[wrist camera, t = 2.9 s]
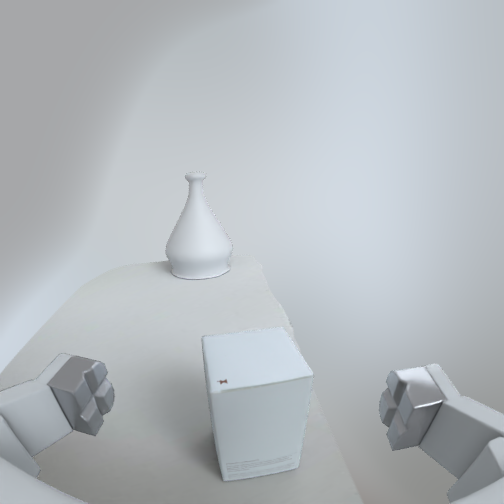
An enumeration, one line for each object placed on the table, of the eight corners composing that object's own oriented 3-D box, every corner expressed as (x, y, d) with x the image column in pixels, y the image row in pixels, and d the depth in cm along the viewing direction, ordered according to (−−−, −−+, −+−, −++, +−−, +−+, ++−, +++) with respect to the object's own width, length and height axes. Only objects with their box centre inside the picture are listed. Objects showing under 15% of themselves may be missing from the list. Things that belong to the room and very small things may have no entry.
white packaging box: (300, 469, 22) (317, 375, 18) (222, 483, 20) (205, 392, 17) (279, 419, 29) (285, 324, 25) (212, 428, 27) (199, 333, 24)
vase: (182, 257, 87) (177, 172, 80) (239, 259, 84) (237, 170, 77) (156, 278, 70) (147, 175, 63) (224, 283, 68) (219, 171, 61)
